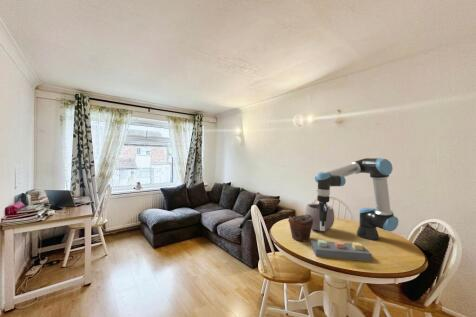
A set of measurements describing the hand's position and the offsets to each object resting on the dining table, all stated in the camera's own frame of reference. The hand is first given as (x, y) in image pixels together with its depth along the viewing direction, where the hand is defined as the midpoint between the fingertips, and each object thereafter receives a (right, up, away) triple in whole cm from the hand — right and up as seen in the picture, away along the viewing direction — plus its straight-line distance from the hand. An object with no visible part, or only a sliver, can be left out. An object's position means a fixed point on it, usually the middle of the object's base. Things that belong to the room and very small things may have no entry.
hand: (322, 230), depth 136 cm
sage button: (0, -11, 0) cm, 11 cm away
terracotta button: (+11, -11, -1) cm, 16 cm away
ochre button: (+22, -11, -3) cm, 25 cm away
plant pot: (+15, -15, +43) cm, 47 cm away
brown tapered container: (-8, -14, +23) cm, 28 cm away
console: (+11, -15, -1) cm, 18 cm away
